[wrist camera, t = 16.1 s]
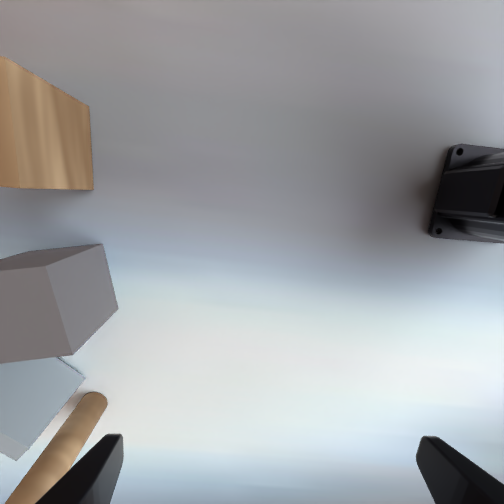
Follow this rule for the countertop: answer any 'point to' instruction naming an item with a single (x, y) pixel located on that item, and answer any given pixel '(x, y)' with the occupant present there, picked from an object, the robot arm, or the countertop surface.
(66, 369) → the door
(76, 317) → the block
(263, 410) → the countertop surface
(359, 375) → the countertop surface
